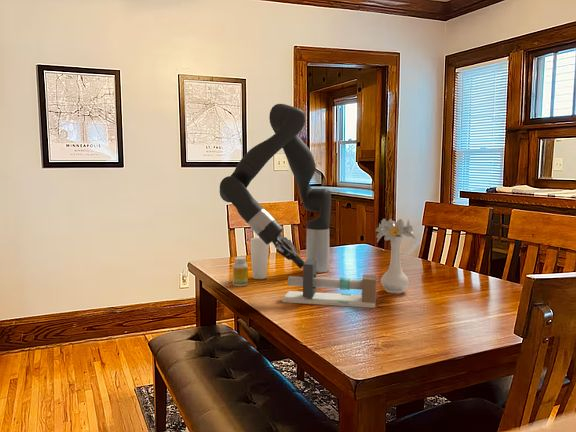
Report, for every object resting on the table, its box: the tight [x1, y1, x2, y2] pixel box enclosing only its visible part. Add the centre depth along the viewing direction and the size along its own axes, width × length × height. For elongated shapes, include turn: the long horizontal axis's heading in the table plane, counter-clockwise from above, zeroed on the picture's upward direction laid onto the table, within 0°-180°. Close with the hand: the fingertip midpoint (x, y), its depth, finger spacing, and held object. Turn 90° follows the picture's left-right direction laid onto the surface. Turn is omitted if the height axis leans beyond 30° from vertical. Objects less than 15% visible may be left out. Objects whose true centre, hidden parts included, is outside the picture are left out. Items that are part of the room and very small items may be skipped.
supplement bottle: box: [232, 256, 249, 287], centre depth 177 cm, size 5×5×10 cm
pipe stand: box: [281, 274, 377, 309], centre depth 157 cm, size 28×11×8 cm, turn 79°
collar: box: [302, 259, 317, 298], centre depth 158 cm, size 3×8×10 cm, turn 169°
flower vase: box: [375, 218, 417, 294], centre depth 168 cm, size 13×18×25 cm
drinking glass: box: [249, 237, 270, 280], centre depth 187 cm, size 7×7×15 cm
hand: (303, 266), depth 157 cm, fingers closed
